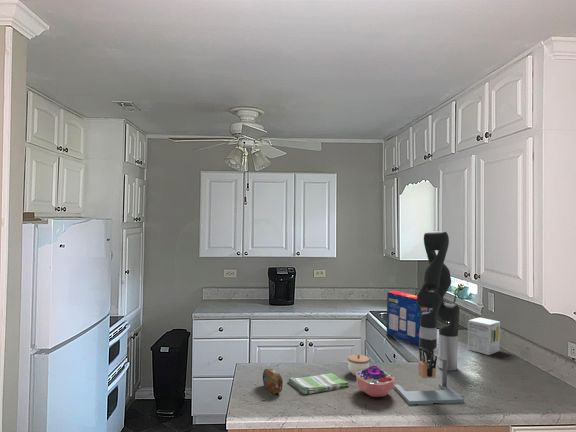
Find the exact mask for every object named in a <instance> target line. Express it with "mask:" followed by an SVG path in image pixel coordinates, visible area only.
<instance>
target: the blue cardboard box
mask: <svg viewBox="0 0 576 432" xmlns="http://www.w3.org/2000/svg"><path fill="white" fill-rule="evenodd" d="M386 295H387V297H386V300H387V301H386V336H389V337H391V338H392V337H393V338H395V339H398V340H400V341H403V342H405V343H409V344H412V345H414V346H417V347H420V346H419V333H420V317H421V314H422V313H425V312H430V308H426V307H420V306H419V305H418V304H417V295H414V294H412V293H406V292H403V291H402V292H401V291H398V290H394V291H393V290H392V291H387V293H386Z"/></svg>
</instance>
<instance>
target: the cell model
mask: <svg viewBox="0 0 576 432" xmlns="http://www.w3.org/2000/svg"><path fill="white" fill-rule="evenodd" d="M355 374H356V375H355V377H356V386H357V388H358V389H359V390H360V391H363V393H365V394H366V395H368V396H370V397H372V398H382V397H385V396H387V395H388V394H389V393H390V392H391V391H392V390H393V389H394V385H396V384H395V383H396V382H395V381H396V380H395V379H396V377H395V375H393V374H392V373H391V372H390V371H388V370H385V369H382V368H379V367H378V366H377V365H369V368H365V369H359V370H357V371H356V373H355Z"/></svg>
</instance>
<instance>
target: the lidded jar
mask: <svg viewBox="0 0 576 432" xmlns="http://www.w3.org/2000/svg"><path fill="white" fill-rule="evenodd" d="M347 367H348V369H349V371H350V372H351V374H352V375H353V376H356V374H355V373H356V371H357V370H359V369H365V368H369V367H370V358H369V357H368V356H367V355H364V354H350V355H348V356H347Z"/></svg>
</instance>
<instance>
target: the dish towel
mask: <svg viewBox="0 0 576 432" xmlns="http://www.w3.org/2000/svg"><path fill="white" fill-rule="evenodd" d="M287 381H288V383H289V384H290V385H292V386H293V387H294V388H296V389H297V390H298V391H299V392H300V393H302V394H303V395H309V394H317V393H323V392H329V391H335V390H341V389H346V388H349V386H350V385H349V382H348V381H346V380H343V379H342V378H339V377H338V376H337V375H336V374H334V373H332V372H330V373H324V374H323V373H322V374H317V375H312V376H310V375H309V376H303V377H293V376H292V377H290V378H288V380H287Z"/></svg>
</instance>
